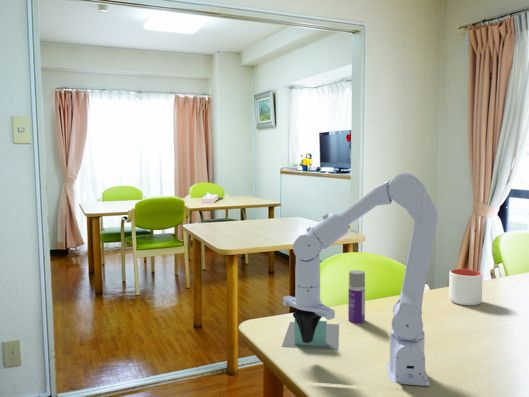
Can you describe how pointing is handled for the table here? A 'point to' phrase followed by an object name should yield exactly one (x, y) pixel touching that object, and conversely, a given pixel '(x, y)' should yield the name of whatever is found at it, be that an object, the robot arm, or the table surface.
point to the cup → (465, 287)
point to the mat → (331, 345)
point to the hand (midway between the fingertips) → (307, 341)
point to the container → (356, 296)
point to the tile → (319, 334)
